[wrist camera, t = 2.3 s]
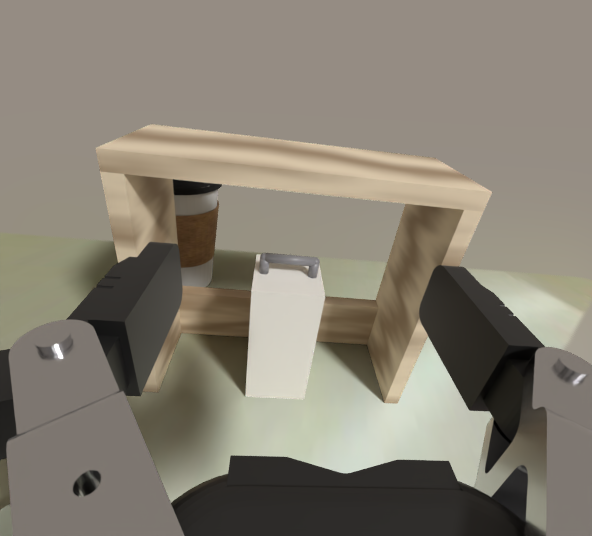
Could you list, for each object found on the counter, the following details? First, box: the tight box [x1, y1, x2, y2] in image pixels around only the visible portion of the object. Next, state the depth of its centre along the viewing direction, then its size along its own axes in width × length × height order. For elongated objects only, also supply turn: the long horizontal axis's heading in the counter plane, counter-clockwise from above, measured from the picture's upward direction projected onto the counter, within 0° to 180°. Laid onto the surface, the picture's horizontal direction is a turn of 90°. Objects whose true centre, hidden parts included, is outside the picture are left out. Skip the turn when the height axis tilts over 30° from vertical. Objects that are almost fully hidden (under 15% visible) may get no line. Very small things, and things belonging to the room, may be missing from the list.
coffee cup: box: [173, 179, 222, 287], centre depth 37 cm, size 8×8×15 cm
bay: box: [96, 124, 492, 403], centre depth 26 cm, size 8×22×19 cm, turn 92°
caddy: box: [245, 253, 325, 399], centre depth 26 cm, size 5×5×12 cm
